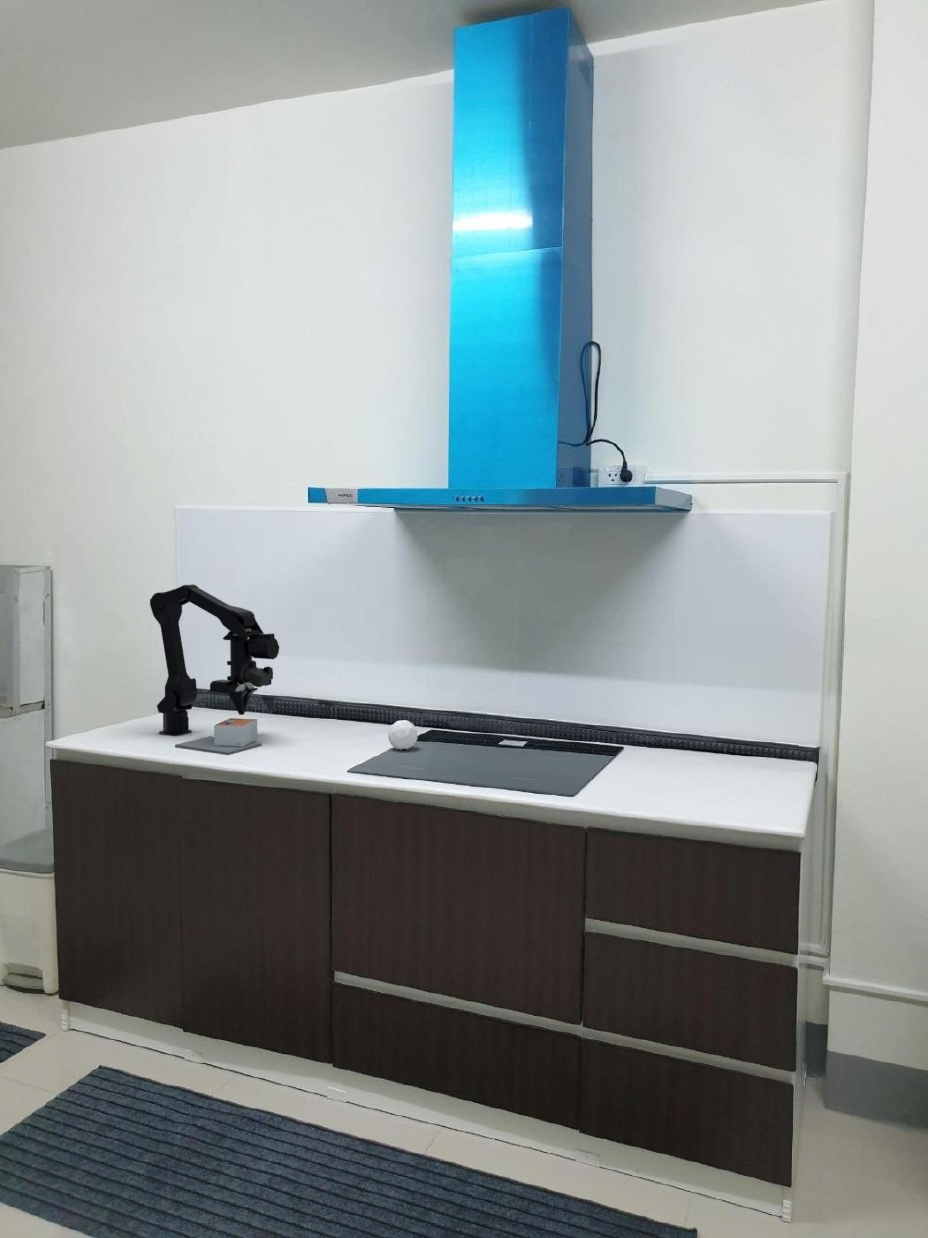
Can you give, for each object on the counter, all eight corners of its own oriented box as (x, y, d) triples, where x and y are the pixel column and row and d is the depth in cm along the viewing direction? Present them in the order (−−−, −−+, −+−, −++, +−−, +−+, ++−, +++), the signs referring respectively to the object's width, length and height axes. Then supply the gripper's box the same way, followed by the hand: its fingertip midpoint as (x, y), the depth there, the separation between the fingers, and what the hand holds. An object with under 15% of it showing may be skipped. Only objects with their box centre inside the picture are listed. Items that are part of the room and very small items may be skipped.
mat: (174, 747, 250) (174, 744, 250) (209, 738, 261) (209, 736, 261) (228, 754, 242) (228, 752, 241) (261, 745, 253) (261, 743, 253)
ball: (410, 758, 252) (428, 735, 251) (391, 753, 246) (410, 729, 245) (395, 740, 257) (413, 717, 256) (376, 734, 250) (395, 711, 249)
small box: (257, 718, 258) (243, 726, 247) (257, 739, 258) (243, 747, 248) (229, 717, 259) (213, 724, 248) (229, 738, 259) (213, 746, 249)
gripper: (241, 663, 246) (241, 723, 247) (287, 655, 262) (287, 712, 263) (208, 660, 251) (208, 719, 252) (255, 653, 267) (255, 708, 268)
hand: (241, 714), depth 259 cm, fingers closed
